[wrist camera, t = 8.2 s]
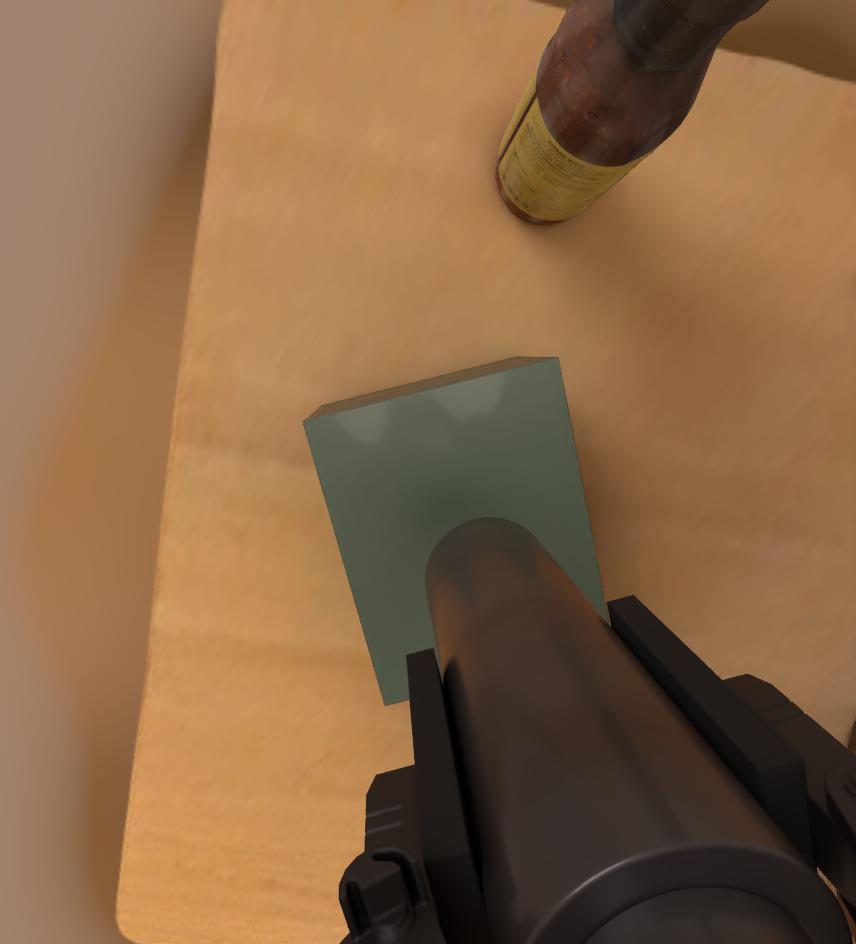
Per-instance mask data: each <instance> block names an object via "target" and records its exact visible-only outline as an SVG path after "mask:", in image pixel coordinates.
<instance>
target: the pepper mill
mask: <svg viewBox="0 0 856 944" xmlns="http://www.w3.org/2000/svg"><path fill="white" fill-rule="evenodd" d="M425 589H426V594H427V599H428V605H429V610H430V615H431V621H432V626H433V632H434V637H435V642H436V648H437V653H438V659H439V664H440V669H441V675H442V680H443V686H444V691H445V696H446V702H447V707H448V712H449V718H450V723H451V729H452V734H453V739H454V745H455V750H456V756H457V761H458V766H459V772H460V777H461V782H462V788H463V793H464V799H465V804H466V809H467V815H468V820H469V826H470V831H471V836H472V842H473V847H474V853H475V858H476V863H477V869H478V874H479V879H480V885H481V890H482V896H483V901H484V906H485V912H486V917H487V923H488V928H489V933H490V939H491V944H853V941H852V935H851V930H850V928H849V925H848V922H847V919H846V917H845V914H844V911H843V909H842V907H841V905H840V903H839V902H838V900H837V898H836V897H835V895H834V893H833V892H832V891H831V889H830V888H829V887H828V886H827V885H826V883H825V882H824V881H823V880H822V879H821V877H820V876H819V875H818V874H817V873H816V871H815V870H814V869H813V868H812V867H811V865H810V864H809V863H808V862H807V861H806V859H805V858H804V857H803V856H802V855H801V854H800V852H799V851H798V850H797V849H796V848H795V846H794V845H793V844H792V843H791V842H790V840H789V839H788V838H787V837H786V836H785V834H784V833H783V832H782V831H781V830H780V828H779V827H778V826H777V825H776V824H775V822H774V821H773V820H772V819H771V818H770V816H769V815H768V814H767V813H766V812H765V810H764V809H763V808H762V807H761V806H760V804H759V803H758V802H757V801H756V800H755V799H754V797H753V796H752V795H751V794H750V793H749V791H748V790H747V789H746V788H745V787H744V785H743V784H742V783H741V782H740V781H739V779H738V778H737V777H736V776H735V775H734V773H733V772H732V771H731V770H730V769H729V767H728V766H727V765H726V764H725V763H724V761H723V760H722V759H721V758H720V757H719V755H718V754H717V753H716V752H715V751H714V749H713V748H712V747H711V746H710V745H709V744H708V742H707V741H706V740H705V739H704V738H703V736H702V735H701V734H700V733H699V732H698V730H697V729H696V728H695V727H694V726H693V724H692V723H691V722H690V721H689V720H688V718H687V717H686V716H685V715H684V714H683V712H682V711H681V710H680V709H679V708H678V706H677V705H676V704H675V703H674V702H673V700H672V699H671V698H670V697H669V696H668V694H667V693H666V692H665V691H664V690H663V689H662V687H661V686H660V685H659V684H658V683H657V681H656V680H655V679H654V678H653V677H652V675H651V674H650V673H649V672H648V671H647V669H646V668H645V667H644V666H643V665H642V663H641V662H640V661H639V660H638V659H637V657H636V656H635V655H634V654H633V653H632V651H631V650H630V649H629V648H628V647H627V645H626V644H625V643H624V642H623V641H622V639H621V638H620V637H619V636H618V635H617V634H616V632H615V631H614V630H613V629H612V628H611V626H610V625H609V624H608V623H607V622H606V620H605V619H604V618H603V617H602V616H601V614H600V613H599V612H598V611H597V610H596V608H595V607H594V606H593V605H592V604H591V602H590V601H589V600H588V599H587V598H586V596H585V595H584V594H583V593H582V592H581V590H580V589H579V588H578V587H577V586H576V584H575V583H574V582H573V581H572V580H571V579H570V577H569V576H568V575H567V574H566V573H565V571H564V570H563V569H562V568H561V567H560V565H559V564H558V563H557V562H556V561H555V559H554V558H553V557H552V556H551V555H550V553H549V552H548V551H547V550H546V549H545V547H544V546H543V545H542V544H541V543H540V541H539V540H538V539H537V538H536V537H535V535H533V534H532V533H531V532H530V531H529V530H528V529H526V528H525V527H523V526H522V525H520V524H518V523H516V522H513V521H510V520H508V519H503V518H496V517H485V518H478V519H473V520H470V521H467V522H465V523H462V524H460V525H458V526H457V527H455V528H453V529H452V530H450V531H449V532H448V533H447V534H446V535H444V537H443V538H442V539H441V540H440V541H439V542H438V543H437V545H436V546H435V548H434V549H433V551H432V553H431V555H430V557H429V560H428V562H427V566H426V571H425Z"/></svg>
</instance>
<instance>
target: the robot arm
mask: <svg viewBox="0 0 856 944" xmlns="http://www.w3.org/2000/svg"><path fill="white" fill-rule="evenodd" d="M607 607H608V612H609V617H610V622H611V628H612V629H613V630H614V631H615V632H616V634H617V635H618V636H619V637H620V638H621V639H622V641H623V642H624V643H625V644H626V645H627V647H628V648H629V649H630V650H631V651H632V653H633V654H634V655H635V656H636V657H637V659H638V660H639V661H640V662H641V663H642V665H643V666H644V667H645V668H646V669H647V671H648V672H649V673H650V674H651V675H652V677H653V678H654V679H655V680H656V681H657V683H658V684H659V685H660V686H661V687H662V689H663V690H664V691H665V692H666V693H667V694H668V696H669V697H670V698H671V699H672V700H673V702H674V703H675V704H676V705H677V706H678V708H679V709H680V710H681V711H682V712H683V714H684V715H685V716H686V717H687V718H688V720H689V721H690V722H691V723H692V724H693V726H694V727H695V728H696V729H697V730H698V732H699V733H700V734H701V735H702V736H703V738H704V739H705V740H706V741H707V742H708V744H709V745H710V746H711V747H712V748H713V749H714V751H715V752H716V753H717V754H718V755H719V757H720V758H721V759H722V760H723V761H724V763H725V764H726V765H727V766H728V767H729V769H730V770H731V771H732V772H733V773H734V775H735V776H736V777H737V778H738V779H739V781H740V782H741V783H742V784H743V785H744V787H745V788H746V789H747V790H748V791H749V793H750V794H751V795H752V796H753V797H754V799H755V800H756V801H757V802H758V803H759V804H760V806H761V807H762V808H763V809H764V810H765V812H766V813H767V814H768V815H769V816H770V818H771V819H772V820H773V821H774V822H775V824H776V825H777V826H778V827H779V828H780V830H781V831H782V832H783V833H784V834H785V836H786V837H787V838H788V839H789V840H790V842H791V843H792V844H793V845H794V846H795V848H796V849H797V850H798V851H799V852H800V854H801V855H802V856H803V857H804V858H805V859H806V861H807V862H808V863H809V864H810V865H811V867H812V868H813V869H814V870H815V871H816V873H817V874H818V872H817V867H818V868H819V869H820V870H821V871H822V873H823V874H824V875H825V876H826V877H827V879H828V880H829V881H830V882H831V883H832V884H833V886H834V887H835V888H836V892H837V900H838V902H839V903H840V905H841V907H842V909H843V911H844V914H845V917H846V919H847V922H848V925H849V928H850V930H851V935H852V937H853V939H854V940H855V942H856V726H855V728H854V731H853V734H852V737H851V741H850V745H849V750H848V749H847V748H846V747H845V746H843V745H842V744H841V743H840V742H839V741H838V740H836V739H835V738H834V737H833V736H832V735H830V734H829V733H828V732H827V731H826V730H825V729H823V728H822V727H821V726H820V725H819V724H818V723H816V722H815V721H814V720H813V719H812V718H811V717H809V716H808V715H807V714H806V715H805V714H804V713H803V711H802V710H801V709H800V708H799V707H798V706H796V705H795V704H794V703H793V702H790V701H789V699H788V698H787V697H786V696H785V695H783V694H782V693H781V692H780V691H779V690H778V689H776V688H775V687H774V686H773V685H772V684H770V683H768V682H765V681H763V680H761V679H758V678H756V677H754V676H752V675H749V674H744V675H740V676H736V677H732V678H729V679H725V680H722V679H721V678H719V677H718V676H717V675H716V674H715V673H714V672H713V671H712V670H711V669H710V668H709V667H708V666H707V665H706V664H705V663H704V662H703V661H702V660H701V659H700V658H699V657H698V656H697V655H696V654H695V653H693V652H692V651H691V650H690V649H689V648H688V647H687V646H686V645H685V644H684V643H683V642H682V641H681V640H680V639H679V638H678V637H677V636H676V635H675V634H674V633H673V632H672V631H671V630H670V629H669V628H667V627H666V626H665V625H664V624H663V623H662V622H661V621H660V620H659V619H658V618H657V617H656V616H655V615H654V614H653V613H652V612H651V611H650V610H649V609H648V608H647V607H646V606H645V605H644V604H643V603H641V602H640V601H639V600H638V599H637V598H636V597H635V596H634V595H631V596H627V597H624V598H620V599H616V600H612V601H608V602H607ZM406 662H407V674H408V686H409V698H410V710H411V723H412V735H413V747H414V759H415V765H411V766H407V767H404V768H400V769H396V770H392V771H389V772H385V773H381V774H378V775H376V776H375V778H374V780H373V782H372V784H371V786H370V788H369V790H368V793H367V795H366V822H365V833H366V836H365V851H364V852H363V853H362V854H360V855H359V856H357V857H356V858H355V859H354V860H353V862H352V863H351V864H350V865H349V866H348V867H347V869H346V870H345V872H344V874H343V877H342V879H341V881H340V884H339V901H340V904H341V907H342V910H343V913H344V916H345V919H346V922H347V925H348V928H349V931H350V933H349V934H348V935H347V936H346V937H345V938H344V939H343V940H342V942H341V943H340V944H491V939H490V933H489V928H488V923H487V917H486V912H485V906H484V901H483V896H482V890H481V885H480V879H479V874H478V869H477V863H476V858H475V853H474V847H473V842H472V836H471V831H470V826H469V820H468V815H467V809H466V804H465V799H464V793H463V788H462V782H461V777H460V772H459V766H458V761H457V756H456V750H455V745H454V739H453V734H452V729H451V723H450V718H449V712H448V707H447V702H446V696H445V691H444V686H443V682H442V678H441V674H440V671H439V667H438V663H437V659H436V655H435V652H434V648H430V649H426V650H422V651H419V652H415V653H411V654H407V655H406Z"/></svg>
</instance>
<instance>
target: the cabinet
mask: <svg viewBox="0 0 856 944" xmlns="http://www.w3.org/2000/svg"><path fill="white" fill-rule="evenodd" d="M303 425H304V428H305V432H306V435H307V439H308V442H309V446H310V449H311V453H312V456H313V459H314V463H315V466H316V470H317V473H318V477H319V480H320V484H321V487H322V491H323V494H324V497H325V501H326V504H327V508H328V511H329V515H330V518H331V522H332V525H333V529H334V532H335V535H336V539H337V542H338V546H339V549H340V553H341V556H342V560H343V563H344V567H345V570H346V573H347V577H348V580H349V584H350V587H351V591H352V594H353V598H354V601H355V605H356V608H357V611H358V615H359V618H360V622H361V625H362V629H363V632H364V636H365V639H366V643H367V646H368V649H369V653H370V656H371V660H372V663H373V667H374V670H375V674H376V677H377V681H378V684H379V688H380V691H381V694H382V698H383V701H384V705H385V706H387V705H391V704H395V703H399V702H403V701H406V700H410V698H409V686H408V674H407V662H406V655H407V654H411V653H415V652H419V651H422V650H426V649H430V648H434V652H435V655H436V659H437V663H438V667H439V671H440V674H441V669H440V664H439V659H438V653H437V648H436V642H435V637H434V632H433V626H432V621H431V615H430V610H429V605H428V599H427V594H426V589H425V571H426V566H427V562H428V560H429V557H430V555H431V553H432V551H433V549H434V548H435V546H436V545H437V543H438V542H439V541H440V540H441V539H442V538H443V537H444V535H446V534H447V533H448V532H449V531H450V530H452V529H453V528H455V527H457V526H458V525H460V524H462V523H465V522H467V521H470V520H473V519H478V518H485V517H496V518H503V519H508V520H510V521H513V522H516V523H518V524H520V525H522V526H523V527H525V528H526V529H528V530H529V531H530V532H531V533H532V534H533V535H535V537H536V538H537V539H538V540H539V541H540V543H541V544H542V545H543V546H544V547H545V549H546V550H547V551H548V552H549V553H550V555H551V556H552V557H553V558H554V559H555V561H556V562H557V563H558V564H559V565H560V567H561V568H562V569H563V570H564V571H565V573H566V574H567V575H568V576H569V577H570V579H571V580H572V581H573V582H574V583H575V584H576V586H577V587H578V588H579V589H580V590H581V592H582V593H583V594H584V595H585V596H586V598H587V599H588V600H589V601H590V602H591V604H592V605H593V606H594V607H595V608H596V610H597V611H598V612H599V613H600V614H601V616H602V617H603V618H604V619H605V620H606V622H607V623H608V624H609V619H608V614H607V609H606V604H605V598H604V593H603V588H602V583H601V577H600V572H599V567H598V562H597V557H596V551H595V546H594V541H593V536H592V530H591V525H590V520H589V515H588V510H587V504H586V499H585V494H584V489H583V483H582V478H581V473H580V468H579V462H578V457H577V452H576V447H575V442H574V436H573V431H572V426H571V421H570V415H569V410H568V405H567V400H566V395H565V389H564V384H563V379H562V374H561V368H560V363H559V358H558V357H514V358H510V359H506V360H502V361H498V362H494V363H490V364H486V365H482V366H478V367H474V368H470V369H466V370H462V371H458V372H454V373H450V374H446V375H442V376H438V377H434V378H430V379H426V380H422V381H418V382H414V383H410V384H406V385H402V386H398V387H394V388H390V389H386V390H382V391H378V392H374V393H370V394H366V395H362V396H358V397H354V398H350V399H345V400H341V401H337V402H333V403H329V404H325V405H322V406H321V407H319V408H318V409H317V410H316V411H315V412H314V413H312V414H311V415H310V416H309V417H308V418H307V419H305V420H304V421H303ZM441 678H442V675H441ZM442 682H443V680H442Z"/></svg>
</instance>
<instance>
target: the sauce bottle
mask: <svg viewBox="0 0 856 944" xmlns="http://www.w3.org/2000/svg"><path fill="white" fill-rule="evenodd" d="M768 1H769V0H574V1H573V3H572V4H571V6H570V7H569V8H568V9H567V12H566V13H565V15H564V17H563V19H562V21H561V23H560V25H559V28H558V30H557V32H556V33H555V34H554V36H553V37H552V38H551V40H550V41H549V43H548V45H547V46H546V48H545V50H544V52H543V54H542V56H541V58H540V60H539V62H538V65H537V67H536V69H535V71H534V73H533V75H532V77H531V79H530V81H529V83H528V86H527V88H526V90H525V92H524V94H523V96H522V98H521V100H520V102H519V104H518V107H517V109H516V111H515V113H514V115H513V117H512V119H511V121H510V123H509V125H508V128H507V130H506V132H505V134H504V136H503V138H502V141H501V144H500V147H499V152H498V159H497V167H496V180H497V184H498V188H499V191H500V193H501V195H502V197H503V198H504V200H505V201H506V203H507V204H508V206H509V207H510V209H512V211H513V212H514V213H515V214H516V215H517V216H519V217H521V218H523V219H525V220H527V221H531V222H534V223H538V224H555V223H560V222H562V221H564V220H565V219H567V218H570V217H573V216H575V215H577V214H579V213H580V212H582V211H583V210H585V209H586V208H587V207H588V206H590V205H591V204H592V203H593V202H594V201H595V200H597V199H598V198H599V197H600V196H601V195H603V194H604V193H605V192H606V191H607V190H608V189H610V188H611V187H612V186H613V185H614V184H615V183H617V182H618V181H619V180H620V179H622V178H623V177H624V176H625V175H626V174H627V173H628V172H629V171H630V170H631V169H633V168H635V167H636V166H637V165H638V164H639V163H640V162H641V161H642V160H643V159H644V158H645V157H647V156H648V155H649V154H651V153H652V152H653V151H654V150H655V149H656V148H657V147H658V146H659V145H660V144H662V143H663V142H664V141H665V140H666V139H667V138H668V137H669V136H670V135H672V133H673V132H674V131H675V130H676V129H677V128H678V127H679V126H680V125H681V123H682V122H683V120H684V119H685V117H686V116H687V115H688V113H689V111H690V109H691V108H692V106H693V104H694V102H695V99H696V97H697V94H698V92H699V89H700V87H701V84H702V82H703V79H704V77H705V74H706V72H707V69H708V67H709V64H710V62H711V59H712V57H713V54H714V52H715V49H716V47H717V45H718V43H719V42H720V41H721V40H722V38H723V36H724V35H725V34H726V33H727V32H728V31H729V30H730V29H731V28H732V27H733V26H734V25H735V24H737V22H740V21H743V20H745V19H747V18H748V17H750V16H752V15H753V14H755V13H756V12H758V11H759V10H760V9H761V8H762V7H763V6H764V5H765V4H766V3H767V2H768Z"/></svg>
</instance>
